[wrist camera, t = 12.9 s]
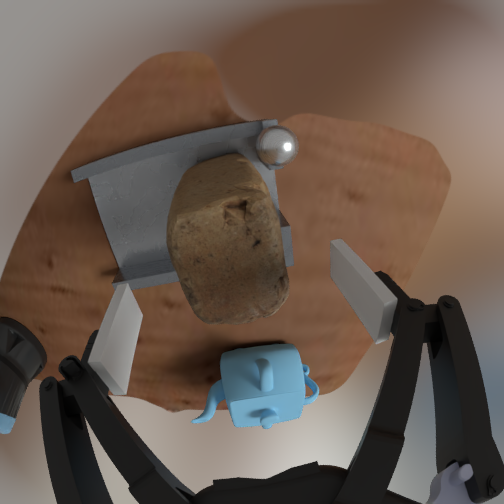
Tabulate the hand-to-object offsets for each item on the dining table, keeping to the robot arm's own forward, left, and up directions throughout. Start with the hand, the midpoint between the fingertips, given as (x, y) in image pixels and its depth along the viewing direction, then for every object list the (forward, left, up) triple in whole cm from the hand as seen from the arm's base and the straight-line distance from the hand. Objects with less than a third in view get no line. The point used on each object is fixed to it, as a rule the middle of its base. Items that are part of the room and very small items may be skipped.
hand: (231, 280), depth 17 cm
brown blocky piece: (0, 0, -19) cm, 19 cm away
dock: (-4, 0, -19) cm, 20 cm away
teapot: (-2, -32, -20) cm, 38 cm away
